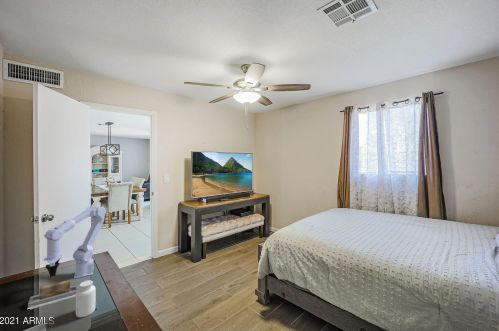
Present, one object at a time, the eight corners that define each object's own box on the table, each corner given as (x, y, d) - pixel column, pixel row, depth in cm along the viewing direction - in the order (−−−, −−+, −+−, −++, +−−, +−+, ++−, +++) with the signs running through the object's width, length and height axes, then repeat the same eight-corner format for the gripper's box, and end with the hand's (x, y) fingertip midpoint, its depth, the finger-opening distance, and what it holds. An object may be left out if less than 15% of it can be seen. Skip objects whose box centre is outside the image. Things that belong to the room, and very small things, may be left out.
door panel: (70, 291, 119) (70, 279, 118) (69, 294, 117) (69, 282, 116) (40, 299, 111) (40, 286, 111) (39, 302, 109) (39, 289, 109)
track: (79, 287, 123) (79, 283, 123) (79, 295, 117) (79, 290, 117) (31, 300, 111) (31, 295, 111) (27, 310, 105) (27, 304, 105)
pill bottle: (82, 306, 110) (83, 278, 109) (98, 306, 110) (99, 278, 110) (71, 318, 102) (71, 288, 101) (88, 317, 103) (89, 288, 102)
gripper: (46, 246, 124) (46, 268, 124) (41, 256, 112) (41, 281, 113) (62, 243, 128) (62, 265, 129) (59, 253, 116) (59, 277, 117)
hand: (53, 272), depth 121 cm, fingers open, 7 cm apart
